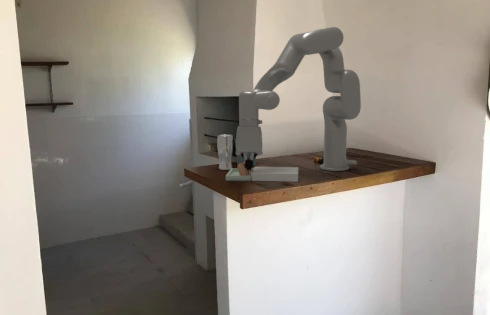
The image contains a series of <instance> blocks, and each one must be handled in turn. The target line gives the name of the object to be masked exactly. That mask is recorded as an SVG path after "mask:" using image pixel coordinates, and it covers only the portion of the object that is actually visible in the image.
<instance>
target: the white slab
mask: <svg viewBox="0 0 490 315" xmlns="http://www.w3.org/2000/svg"><path fill="white" fill-rule="evenodd" d="M252 169H253V171H252V173H251V181H252V182H292V183H293V182H294V183H298V182H299V167H298V166H297V167H296V166H293V167H291V166H253V168H252Z"/></svg>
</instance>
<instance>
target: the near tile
mask: <svg viewBox="0 0 490 315" xmlns="http://www.w3.org/2000/svg"><path fill="white" fill-rule="evenodd" d="M236 167H237V168H238V171H239V174H240V176H248V171H247V168H245V162H244V163H240V164H239V165H238V164H237V166H236Z"/></svg>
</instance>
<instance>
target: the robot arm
mask: <svg viewBox="0 0 490 315" xmlns="http://www.w3.org/2000/svg"><path fill="white" fill-rule="evenodd" d="M343 43H344V33H343V32H342V30H341V29H340V28H338V27H336V26H331V27H324V28H320V29H319V28H318V29H315V30H313V31H306V32H302V33H297V34H294V35H292V36H291V37H290V39H289V40H288V41H287V43H286V44H285V47H284V48H283V50H282V51H281V54H279V55H278V56H279V57H278V58H277V60H276V62H275V63H274V64H273V65H272V66H271V67H270V68H269V69H268V70H267V71H266V72H265V73H264V75H263V76H261V77H260V79H259V80H258V82H257V84H255V86H254V88H253V90H246V91H245V90H244V91H240V92H239V94H238V116H239V117H238V122H239V124H238V126H237V129H236V137H235V139H236V145H235V156H237V155H240V156H242V157H243V158H244V160H245V168H247V170H251V169H254V166H253V159H254V158H255V157H256V158H257V157H259V156H263V154H264V153H263V134H262V128H261V126H260V125H261V124H262V125H263V119H259V116H260V115H259V113H260V112H259V110H266V111H272V110H274V109H276V108H277V107H278V106H279V104H280V102H281V98H280V96H279V94H278V92H276V91H274V90H275V88H277V87H278V85H280V84H282V83H283V82H285V81H287V80H289V79H290V78H291V77H293V75H295V72H296V71H297V69H298V67H299V66H300V65H301V63H302V61H303V59H304V58H305V57H306V56H309V55H310V56H311V55H317V54H318V55H319V56H320V58H321V61H322V66H323V80H324V81H323V82H324V88H325V90H326V91H327V92H329V93H333V94H339V95H332V96H329V97H327V98H326V99H325V100H324V102H323V104H322V114H323V122H324V134H323V137H324V138H323V141H324V142H323V143H324V144H323V163H322V164H320V165H319V168H320V169H321V170H324V171H332V172H341V171H348V170H349V169H350V166H357V165H358V161H357V160H354V159H348V158H347V138H348V137H347V136H348V135H347V134H348V127H347V122H346V120H347V121H349V120H350V121H351V120H354V119H356V118H357V117H358V116H359V115H360V113H361V107H362V106H361V105H362V100H361V83H360V79H359V76H358V74H357V73H356V72H355V71H354V70H351V69H345V63H344V56H343V53H342V51H341V48H340V47H341V45H342V44H343ZM242 152H243V153H242ZM247 152H251V157H250V160H249V158H248V154H247Z"/></svg>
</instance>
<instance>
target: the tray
mask: <svg viewBox="0 0 490 315" xmlns="http://www.w3.org/2000/svg"><path fill="white" fill-rule="evenodd" d="M253 169H254V168H252V169H251V173H252V171H253ZM251 173H250V175H248V176H240V174H239V171H238V167H237V168H236V167H235V168H233V167H232V168H231V170H228V172H227V173H226V175H225V181H226V182H251V181H252V179H251Z"/></svg>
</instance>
